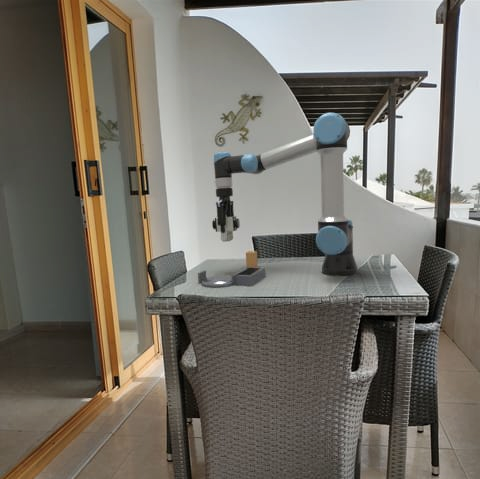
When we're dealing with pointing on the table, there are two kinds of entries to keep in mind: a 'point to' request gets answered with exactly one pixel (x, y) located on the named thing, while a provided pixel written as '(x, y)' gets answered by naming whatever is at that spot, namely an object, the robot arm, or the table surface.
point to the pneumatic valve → (231, 226)
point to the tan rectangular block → (251, 259)
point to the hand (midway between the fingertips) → (227, 238)
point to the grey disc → (216, 280)
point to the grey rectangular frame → (249, 276)
